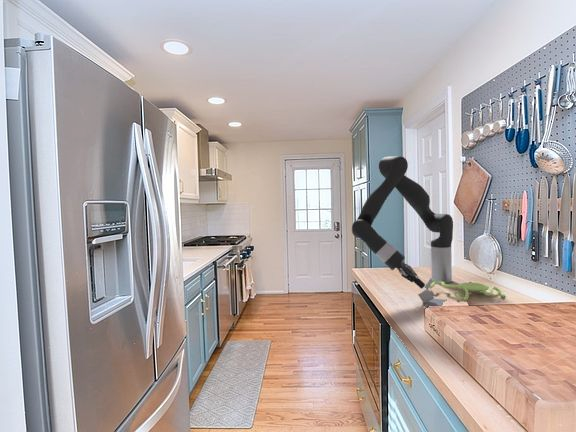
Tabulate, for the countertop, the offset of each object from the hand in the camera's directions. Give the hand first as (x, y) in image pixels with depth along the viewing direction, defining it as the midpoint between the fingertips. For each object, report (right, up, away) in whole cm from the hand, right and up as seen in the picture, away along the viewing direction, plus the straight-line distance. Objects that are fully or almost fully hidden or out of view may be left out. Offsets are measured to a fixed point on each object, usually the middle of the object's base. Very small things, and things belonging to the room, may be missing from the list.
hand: (423, 286), depth 132 cm
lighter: (-2, -4, +1) cm, 4 cm away
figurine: (+21, -6, +9) cm, 24 cm away
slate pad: (+8, -6, -4) cm, 11 cm away
